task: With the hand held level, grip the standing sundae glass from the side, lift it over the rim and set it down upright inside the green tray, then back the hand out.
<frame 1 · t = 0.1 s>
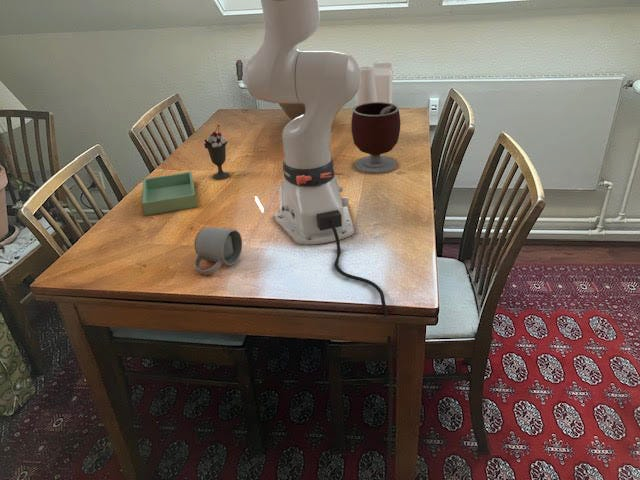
ceramic bowl: (307, 120, 197), on the table
milk: (381, 128, 186), on the table
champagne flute: (366, 143, 174), on the table
ceramic mug: (218, 263, 115), on the table
green tray: (170, 198, 145), on the table
mate gourd: (377, 166, 156), on the table
sundae: (221, 176, 156), on the table
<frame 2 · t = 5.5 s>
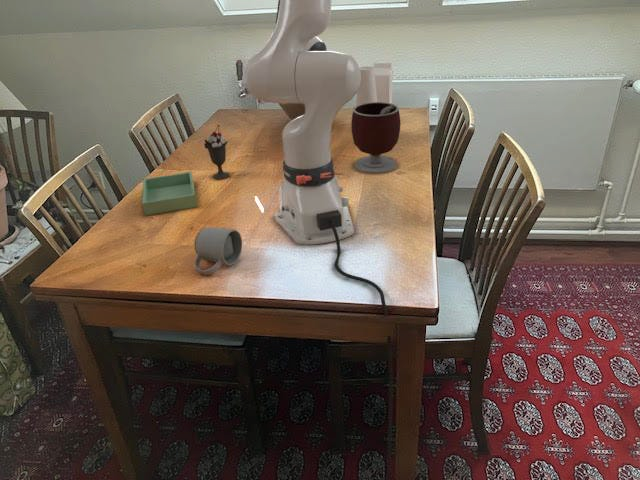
hand: (249, 97, 154), 20 cm above the table, tool horizontal, fingers open, 8 cm apart
nothing on the table moved.
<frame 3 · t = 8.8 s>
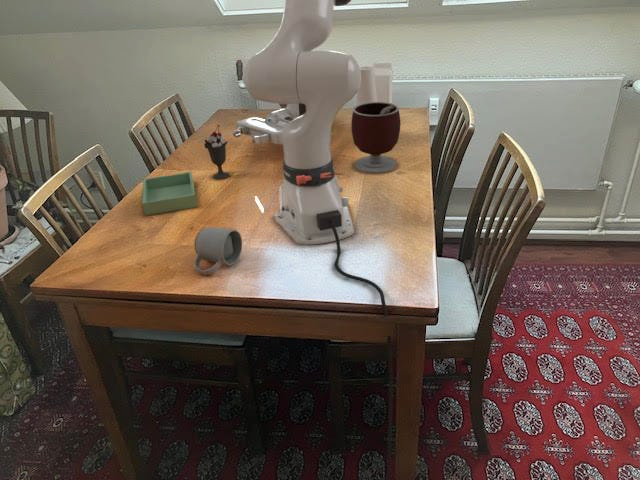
hand: (243, 137, 157), 9 cm above the table, tool horizontal, fingers open, 8 cm apart
nothing on the table moved.
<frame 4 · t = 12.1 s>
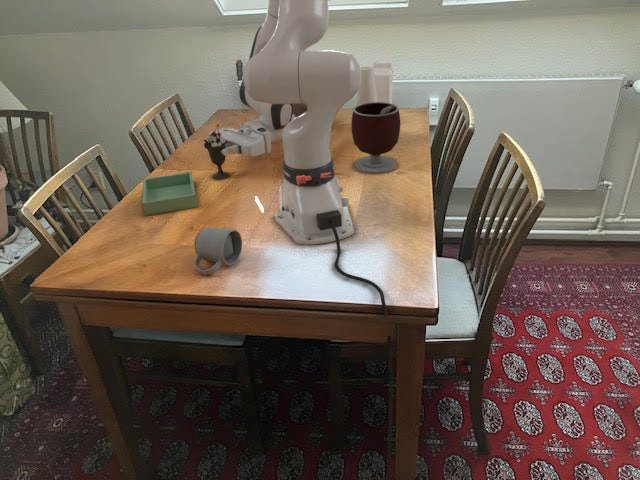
hand: (214, 149, 151), 9 cm above the table, tool horizontal, fingers closed on sundae, 6 cm apart
sundae: (221, 176, 156), on the table, touching gripper
everything else where it was.
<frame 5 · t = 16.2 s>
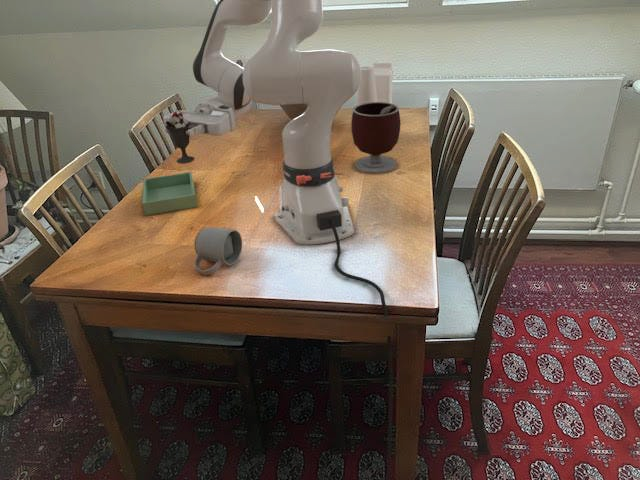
hand: (177, 131, 141), 17 cm above the table, tool horizontal, fingers closed on sundae, 6 cm apart
sundae: (185, 160, 146), point 8 cm above the table, touching gripper
everything else where it was.
when the fingers open (9 cm above the table, at t = 20.3 s): sundae stays where it is, resting on green tray.
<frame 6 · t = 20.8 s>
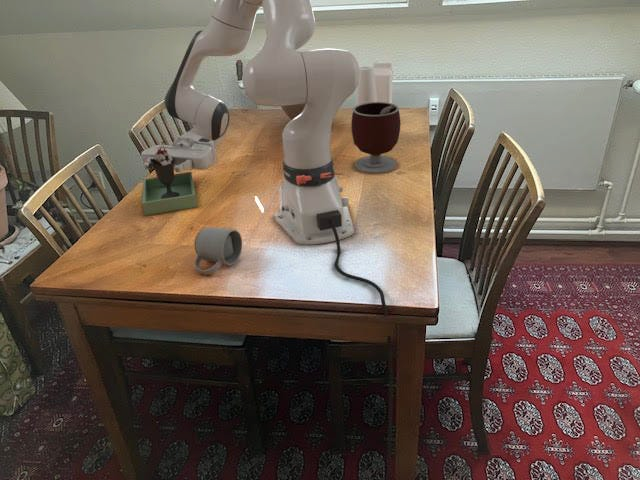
hand: (161, 168, 139), 9 cm above the table, tool horizontal, fingers open, 8 cm apart
sundae: (170, 196, 145), resting on green tray
everything else where it was.
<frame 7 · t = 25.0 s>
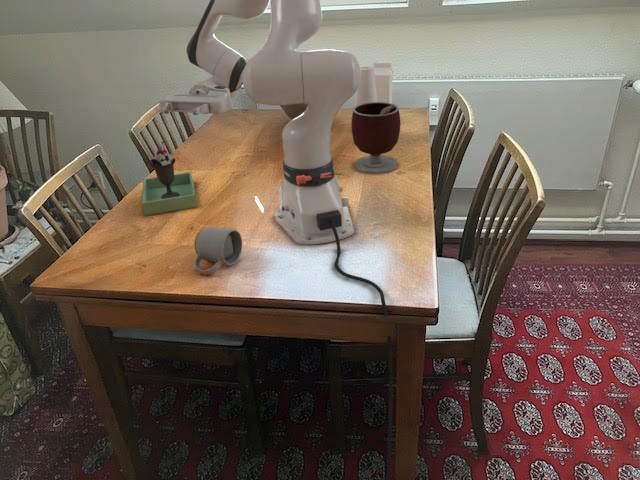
hand: (179, 111, 144), 21 cm above the table, tool horizontal, fingers open, 8 cm apart
nothing on the table moved.
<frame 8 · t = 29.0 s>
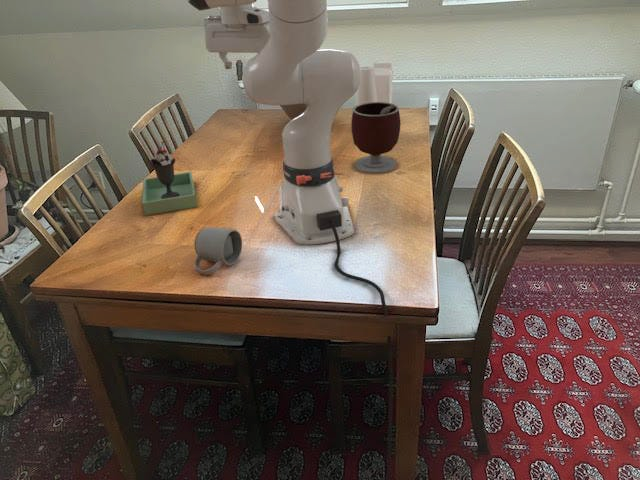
hand: (244, 69, 146), 29 cm above the table, tool pointing down, fingers open, 8 cm apart
nothing on the table moved.
at the end: sundae inside the target area in the green tray (0.3 cm from its centre), point 0.3 cm above the green tray's base; sundae tilted 0°; the gripper is holding nothing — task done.
